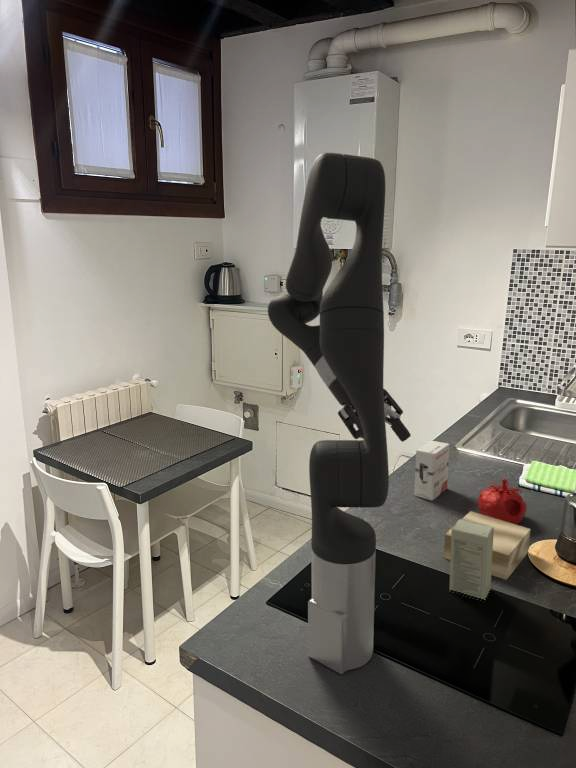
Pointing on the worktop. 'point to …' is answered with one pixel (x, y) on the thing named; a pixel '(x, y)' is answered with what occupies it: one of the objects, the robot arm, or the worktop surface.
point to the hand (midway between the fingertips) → (395, 445)
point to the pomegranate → (502, 503)
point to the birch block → (499, 543)
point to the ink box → (431, 470)
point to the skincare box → (471, 558)
